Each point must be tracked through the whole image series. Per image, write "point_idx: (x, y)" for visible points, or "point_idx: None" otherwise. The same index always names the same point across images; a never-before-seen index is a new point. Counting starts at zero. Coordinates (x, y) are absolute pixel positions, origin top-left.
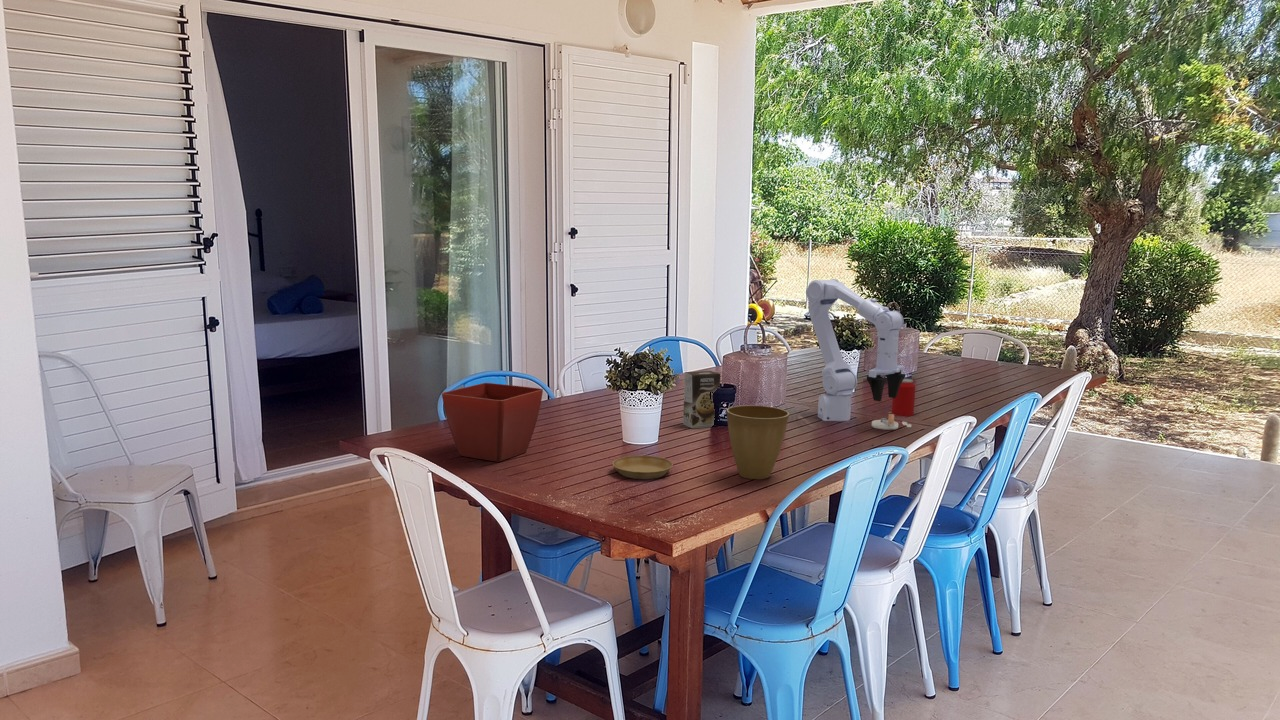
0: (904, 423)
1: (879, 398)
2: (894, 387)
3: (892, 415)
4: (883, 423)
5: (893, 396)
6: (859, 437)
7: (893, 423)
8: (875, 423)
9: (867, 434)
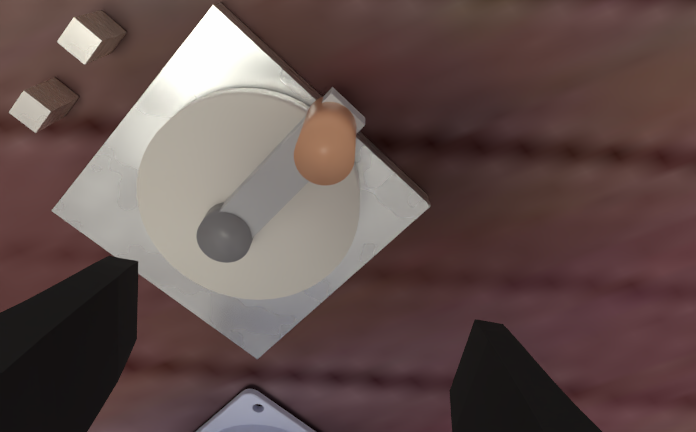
0: (51, 102)
1: (522, 351)
2: (50, 385)
3: (344, 135)
4: (286, 204)
5: (129, 292)
6: (592, 229)
7: (331, 102)
8: (334, 251)
9: (463, 224)
